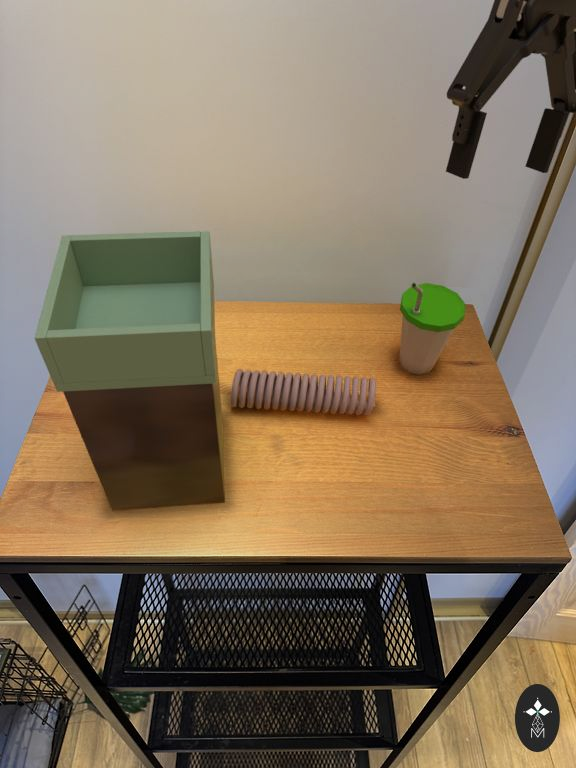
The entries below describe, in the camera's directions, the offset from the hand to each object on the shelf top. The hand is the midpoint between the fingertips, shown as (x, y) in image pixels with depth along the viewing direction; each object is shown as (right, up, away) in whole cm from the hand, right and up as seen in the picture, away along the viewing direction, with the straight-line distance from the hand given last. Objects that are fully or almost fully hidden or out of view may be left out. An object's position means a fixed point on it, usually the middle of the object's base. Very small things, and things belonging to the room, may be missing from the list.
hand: (498, 172), depth 66 cm
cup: (-7, -22, +11) cm, 25 cm away
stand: (-38, -33, 0) cm, 50 cm away
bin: (-37, -20, -15) cm, 45 cm away
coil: (-22, -27, +6) cm, 35 cm away
